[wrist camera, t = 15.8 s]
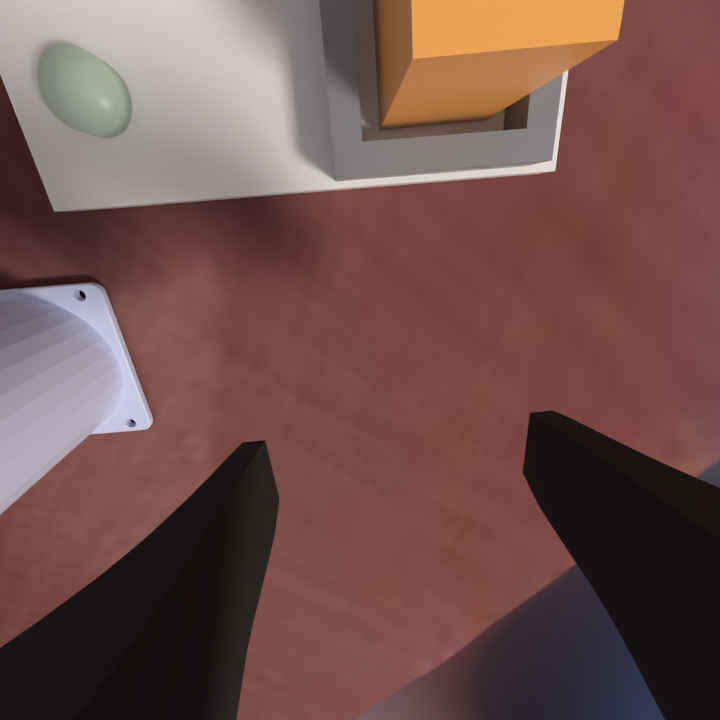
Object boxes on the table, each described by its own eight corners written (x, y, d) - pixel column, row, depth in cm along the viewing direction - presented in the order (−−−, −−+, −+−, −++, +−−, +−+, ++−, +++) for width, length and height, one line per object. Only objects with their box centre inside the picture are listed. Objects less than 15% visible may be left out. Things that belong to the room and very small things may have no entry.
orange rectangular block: (379, 130, 13) (412, 59, 7) (371, -13, 12) (405, -282, 5) (485, 120, 13) (618, 39, 7) (492, -24, 12) (673, -306, 5)
